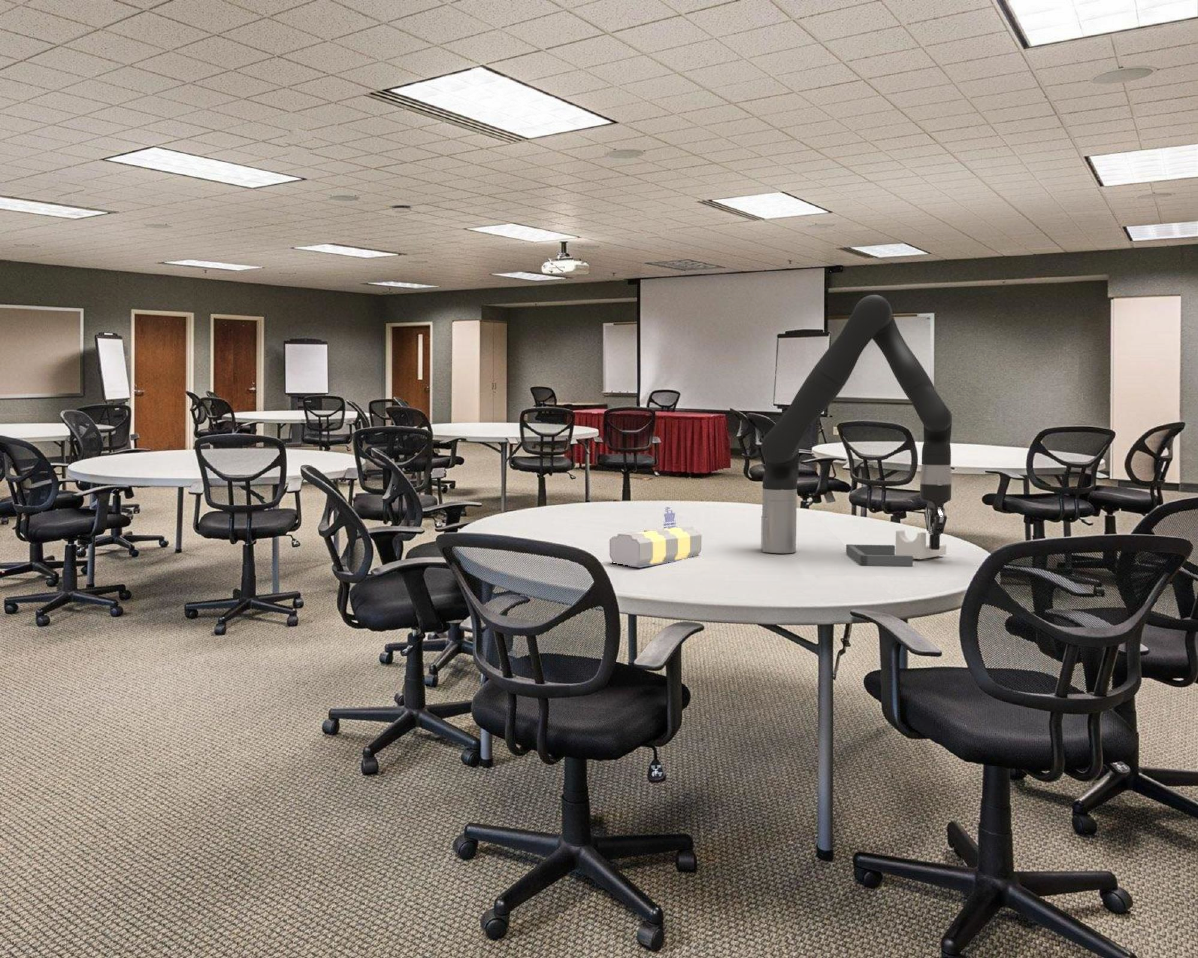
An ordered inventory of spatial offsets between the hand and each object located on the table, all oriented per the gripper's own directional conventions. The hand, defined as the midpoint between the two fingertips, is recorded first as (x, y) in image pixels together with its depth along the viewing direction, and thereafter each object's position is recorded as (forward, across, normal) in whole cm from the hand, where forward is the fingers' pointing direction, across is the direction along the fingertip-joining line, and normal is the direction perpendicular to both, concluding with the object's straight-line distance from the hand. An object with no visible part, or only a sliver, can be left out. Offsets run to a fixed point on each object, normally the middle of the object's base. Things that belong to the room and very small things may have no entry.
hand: (934, 549), depth 233 cm
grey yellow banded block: (+3, +4, -71) cm, 72 cm away
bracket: (+4, -5, -2) cm, 6 cm away
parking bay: (+3, 0, -13) cm, 14 cm away
